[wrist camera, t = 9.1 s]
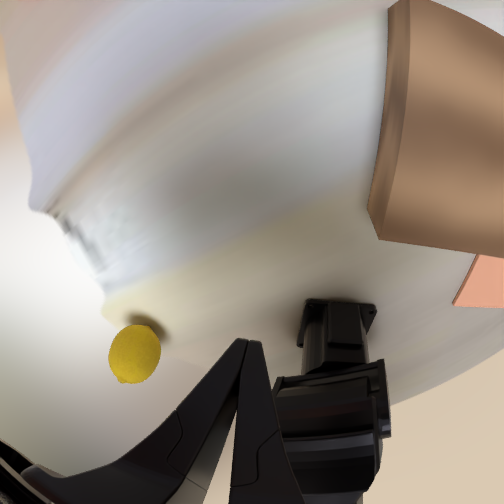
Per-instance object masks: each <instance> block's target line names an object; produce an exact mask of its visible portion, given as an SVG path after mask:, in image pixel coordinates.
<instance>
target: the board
mask: <svg viewBox="0 0 504 504" xmlns="http://www.w3.org/2000/svg"><path fill="white" fill-rule="evenodd" d="M367 210H368V213H369V215H370V218H371V220H372V223H373V225H374V228H375V231H376V233H377V236H378V239H379V240H385V241H392V242H399V243H407V244H414V245H421V246H428V247H435V248H441V249H448V250H454V251H461V252H467V253H473V254H480V255H486V256H492V257H497V258H503V259H504V37H503V36H502V35H500V34H499V33H497V32H495V31H493V30H492V29H490V28H488V27H486V26H485V25H483V24H481V23H479V22H477V21H475V20H473V19H471V18H469V17H467V16H465V15H463V14H461V13H459V12H457V11H455V10H453V9H450V8H448V7H446V6H443V5H441V4H438V3H436V2H433V1H431V0H399V1H398V2H396V3H395V4H394V5H392V6H391V7H390V8H388V56H387V73H386V87H385V98H384V107H383V116H382V124H381V132H380V139H379V146H378V152H377V159H376V165H375V170H374V176H373V181H372V186H371V192H370V197H369V201H368V206H367Z"/></svg>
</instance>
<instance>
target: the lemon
mask: <svg viewBox="0 0 504 504" xmlns="http://www.w3.org/2000/svg"><path fill="white" fill-rule="evenodd" d="M160 355H161V346H160V342H159V339H158V337H157V336H156V334H155V333H154V332H153V331H152V330H151V327H149V326H143V325H130V326H127V327H125V328H124V329H122V330H121V331H120V332H119V333H118V334H117V336H116V337H115V338H114V340H113V343H112V345H111V348H110V351H109V364H110V368H111V370H112V372H113V373H114V375H115V376H116V377H117V379H118V381H119V382H120V383H130V384H133V383H134V384H135V383H140V382H143V381H144V380H146V379H147V378H148V377H149V376H150V375H151V374H152V373H153V372H154V370H155V368H156V367H157V364H158V362H159V359H160Z"/></svg>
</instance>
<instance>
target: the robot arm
mask: <svg viewBox="0 0 504 504" xmlns="http://www.w3.org/2000/svg"><path fill="white" fill-rule="evenodd" d="M310 305H311V306H310ZM371 310H372V311H371ZM376 313H377V309H376V306H374V305H365V304H354V303H343V302H332V301H322V300H313V299H309V300H307V301H306V302H305V305H304V310H303V315H302V320H301V325H300V329H299V334H298V339H297V346H298V347H300V348H303V359H302V371H301V375H298V376H290V377H284V376H282V377H277V379H276V382H275V384H274V387H273V389H272V390H271V385H270V380H269V376H268V371H267V366H266V362H265V357H264V352H263V347H262V343H261V342H260V341H256V340H250V341H249V340H248V339H242V338H237V339H236V340H235V341H234V342H233V343H232V344H231V345H230V347H229V348H228V349H227V350H226V351H225V353H224V354H223V355H222V356H221V357H220V358H219V360H218V361H217V362H216V363H215V364H214V366H213V367H212V368H211V369H210V371H208V373H207V374H206V375H205V376H204V377H203V378H202V379H201V381H200V382H199V383H198V384H197V385H196V386H195V388H194V389H193V390H192V391H191V392H190V393H189V394H188V395H187V397H186V398H185V399H184V400H183V401H182V402H181V403H180V404H179V405H178V407H177V408H176V410H174V411H173V412H172V413H171V414H170V415H169V416H168V418H167V419H166V420H165V421H164V422H163V423H162V424H161V425H160V426H159V427H158V428H157V429H156V430H154V431H153V432H152V433H151V434H150V435H148V436H147V437H146V438H145V439H144V440H143V441H141V442H140V443H139V444H137V445H136V446H135V447H134V448H133V449H131V450H130V451H129V452H127V453H126V454H125V455H123V456H122V457H121V458H119V459H118V460H116V461H114V462H112V463H110V464H107V465H104V466H102V467H99V468H95V469H92V470H89V471H86V472H83V473H80V474H76V475H72V476H68V477H65V476H63V475H61V474H59V473H57V472H54V471H52V470H50V469H48V468H46V467H44V466H42V465H39V464H34V463H33V462H32V461H30V460H29V459H28V458H27V457H26V456H24V455H23V454H22V453H20V452H19V451H18V450H16V449H15V448H14V447H12V446H11V445H10V444H8V443H6V442H5V441H3V440H2V439H0V504H203V501H204V498H205V496H206V493H207V490H208V488H209V485H210V482H211V480H212V477H213V475H214V472H215V469H216V467H217V464H218V461H219V458H220V456H221V453H222V450H223V447H224V445H225V442H226V438H227V436H228V433H229V430H230V428H231V424H232V422H233V419H234V416H235V413H236V410H237V415H236V426H235V439H234V449H233V460H232V472H231V484H230V487H231V488H230V494H229V503H228V504H363V493H364V492H366V491H367V490H368V489H369V487H370V486H371V484H372V482H373V481H374V478H375V476H376V474H377V473H378V471H379V469H380V463H381V456H382V449H383V442H382V439H384V438H389V437H391V415H390V401H389V391H388V382H387V375H386V369H385V363H384V359H379V360H377V361H376V362H371V363H369V355H368V346H367V337H366V335H367V333H368V331H369V328H370V326H371V324H372V322H373V320H374V317H375V315H376Z"/></svg>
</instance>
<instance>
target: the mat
mask: <svg viewBox="0 0 504 504" xmlns="http://www.w3.org/2000/svg"><path fill="white" fill-rule="evenodd" d="M452 304H453V306H466V307H492V308H504V259H503V258H497V257H492V256H486V255H480V254H477V255H476V257H475V260H474V262H473V264H472V266H471V268H470V270H469V272H468V274H467V276H466V278H465V280H464V282H463V284H462V286H461V288H460V290H459V292H458V294H457V295H456V297H455V299H454V301H453V303H452Z"/></svg>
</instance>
